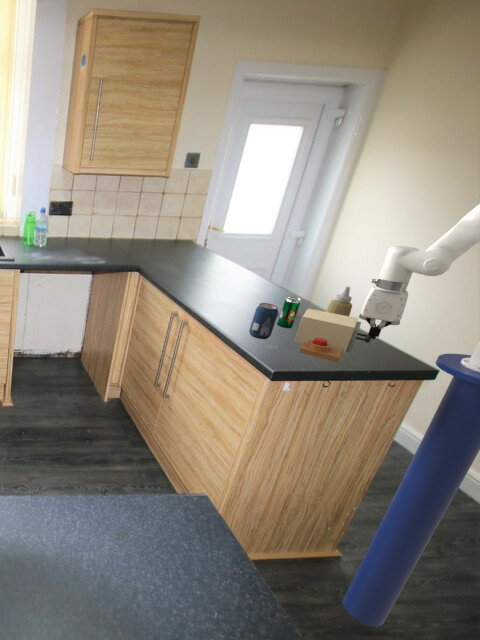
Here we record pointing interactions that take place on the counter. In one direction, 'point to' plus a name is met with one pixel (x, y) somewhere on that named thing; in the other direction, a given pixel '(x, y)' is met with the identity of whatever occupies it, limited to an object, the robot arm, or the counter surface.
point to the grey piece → (357, 337)
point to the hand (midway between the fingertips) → (372, 337)
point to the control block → (321, 351)
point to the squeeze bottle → (341, 303)
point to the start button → (320, 341)
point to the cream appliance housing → (326, 328)
